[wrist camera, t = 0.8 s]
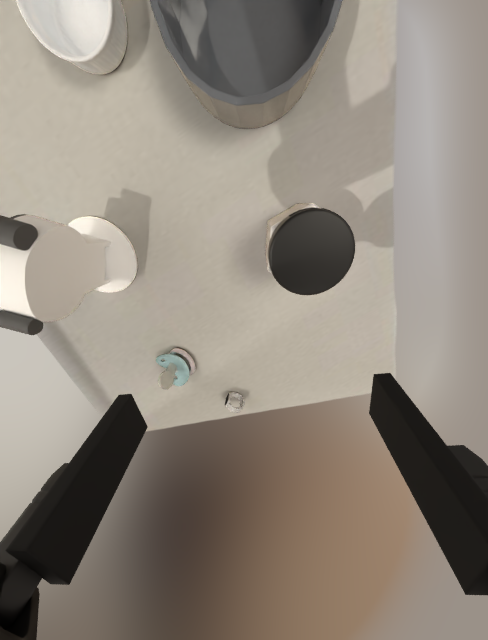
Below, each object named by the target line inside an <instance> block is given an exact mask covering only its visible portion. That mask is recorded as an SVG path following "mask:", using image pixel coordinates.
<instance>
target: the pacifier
mask: <svg viewBox="0 0 488 640" xmlns="http://www.w3.org/2000/svg"><path fill="white" fill-rule="evenodd" d="M175 353H178V354H181V355H183V356H184V357H185V358H186V359H187V360H188V361H189V363H190V366H191V369H190V370H189V368H188V365H187V363H186V362H185V361H184V360H183V359H182V358H181V357H179V356H177V355H174V354H175ZM161 359H165V360H166V361H162V360H161ZM156 362H157V363H158V364H159V365H160V366H162V367H165V368H167V369H166V371H164V372H163V373H161V374H160V376H159V378H158V385H159V387H160V388H162V389H169V388H170V387H171V386H172V385H173V384H174V385H176V386H182V385H184V384H185V383H186V382H187V380H188V378H189V375H192V374H193V373H194V372H195V369H196V368H195V363H194V360H193V358H192V357H191V356H190V355H189V354H188V353H187V352H186V351H184V350H182V349H179V348H175V349H172V350H171V351H170V354H163V355H160V356H158V357H157V358H156ZM175 375H176V376H177V377H178V378H177V379H175V378H174V376H175Z"/></svg>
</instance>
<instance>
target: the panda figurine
mask: <svg viewBox="0 0 488 640" xmlns="http://www.w3.org/2000/svg"><path fill="white" fill-rule="evenodd" d="M137 267H138V263H137V256H136V253H135V250H134V247H133V245H132V244H131V242H130V240H129V239H128V237H127V236H126V235H125V234H124V233H123V232H122V231H121V230H120V229H119V228H118V227H117V226H115V225H114V224H112V223H111V222H109V221H107V220H105V219H102V218H99V217H93V216H86V217H80V218H77V219H75V220H73V221H71V222H70V223H69V224H68V225H64V224H60V223H57V222H54V221H50V220H47V219H44V218H40V217H37V216H33V215H25V214H23V215H16V216H13V217H11V218H8V217H4V216H1V215H0V308H1V309H3V310H1V311H0V327H2V328H6V329H10V330H14V331H18V332H21V333H25V334H29V335H35V334H37V333H39V332H40V331H41V330H42V329H43V323H42V322H52V321H57V320H60V319H63V318H65V317H67V316H69V315H70V314H71V313H73V312H74V311H75V310H76V309H77V307H78V306H79V305H80V303H81V302H82V300H83V298H84V296H85V294H87V293H89V292H91V291H92V290H94V289H95V290H98V291H101V292H109V293H111V292H118V291H121V290H123V289H125V288H126V287H128V286H129V285H130V284H131V283H132V282H133V280H134V278H135V276H136V273H137ZM41 321H42V322H41Z"/></svg>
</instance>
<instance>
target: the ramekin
mask: <svg viewBox="0 0 488 640" xmlns="http://www.w3.org/2000/svg"><path fill="white" fill-rule="evenodd" d="M16 3H17V6H18V8H19V10H20V12H21V14H22V16H23V18H24V20H25V22H26V24H27V25H28V27H29V29H30V30H31V32H32V33H33V34H34V36H35V37H36V38H37V39H38V40H39V41H40V42H41V44H42V45H43V46H44V47H46V48H47V49H48V50H49V51H50V52H52V53H53V54H55V55H56V56H58V57H60V58H62V59H64V60H66V61H69V62H71V63H72V64H74V65H75V66H77V67H79V68H80V69H82V70H84V71H86V72H88V73H91V74H97V75H102V74H107V73H110V72H111V71H113V70H114V69H116V68H117V67H118V66H119V64H120V63H121V61H122V59H123V57H124V54H125V51H126V46H127V37H128V34H127V33H128V30H127V20H126V15H125V12H124V8H123V5H122V3H121V0H16Z"/></svg>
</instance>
